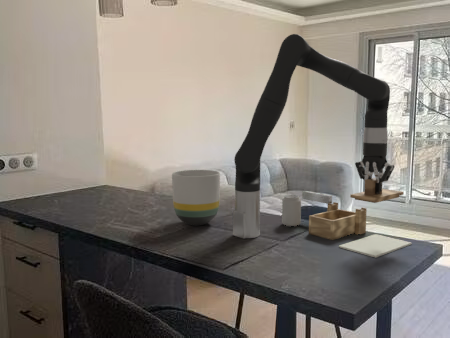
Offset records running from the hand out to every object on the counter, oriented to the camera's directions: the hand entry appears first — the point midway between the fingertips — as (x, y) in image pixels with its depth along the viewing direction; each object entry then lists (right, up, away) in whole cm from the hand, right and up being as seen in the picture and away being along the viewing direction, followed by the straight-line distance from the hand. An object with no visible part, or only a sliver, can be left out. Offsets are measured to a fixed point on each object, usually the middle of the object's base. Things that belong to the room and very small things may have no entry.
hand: (373, 192), depth 146 cm
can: (-22, -15, +33) cm, 42 cm away
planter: (-61, -15, +35) cm, 72 cm away
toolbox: (-7, -16, +20) cm, 27 cm away
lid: (+2, -2, +2) cm, 3 cm away
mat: (+2, -18, +4) cm, 19 cm away
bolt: (-12, -5, +35) cm, 37 cm away
